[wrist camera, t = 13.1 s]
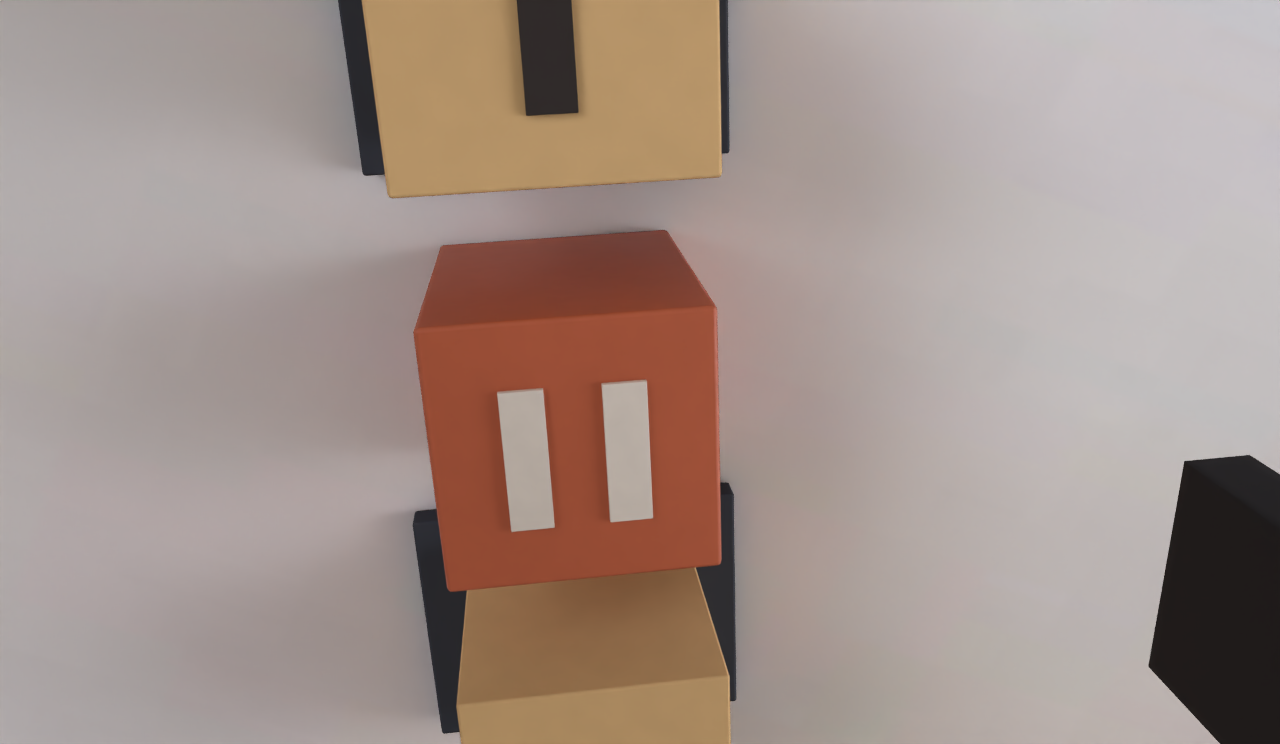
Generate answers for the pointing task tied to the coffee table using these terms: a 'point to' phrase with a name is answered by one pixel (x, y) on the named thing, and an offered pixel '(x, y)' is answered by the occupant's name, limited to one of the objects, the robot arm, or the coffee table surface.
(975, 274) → the coffee table surface
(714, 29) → the tan cubes
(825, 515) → the coffee table surface
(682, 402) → the pause symbol cube
